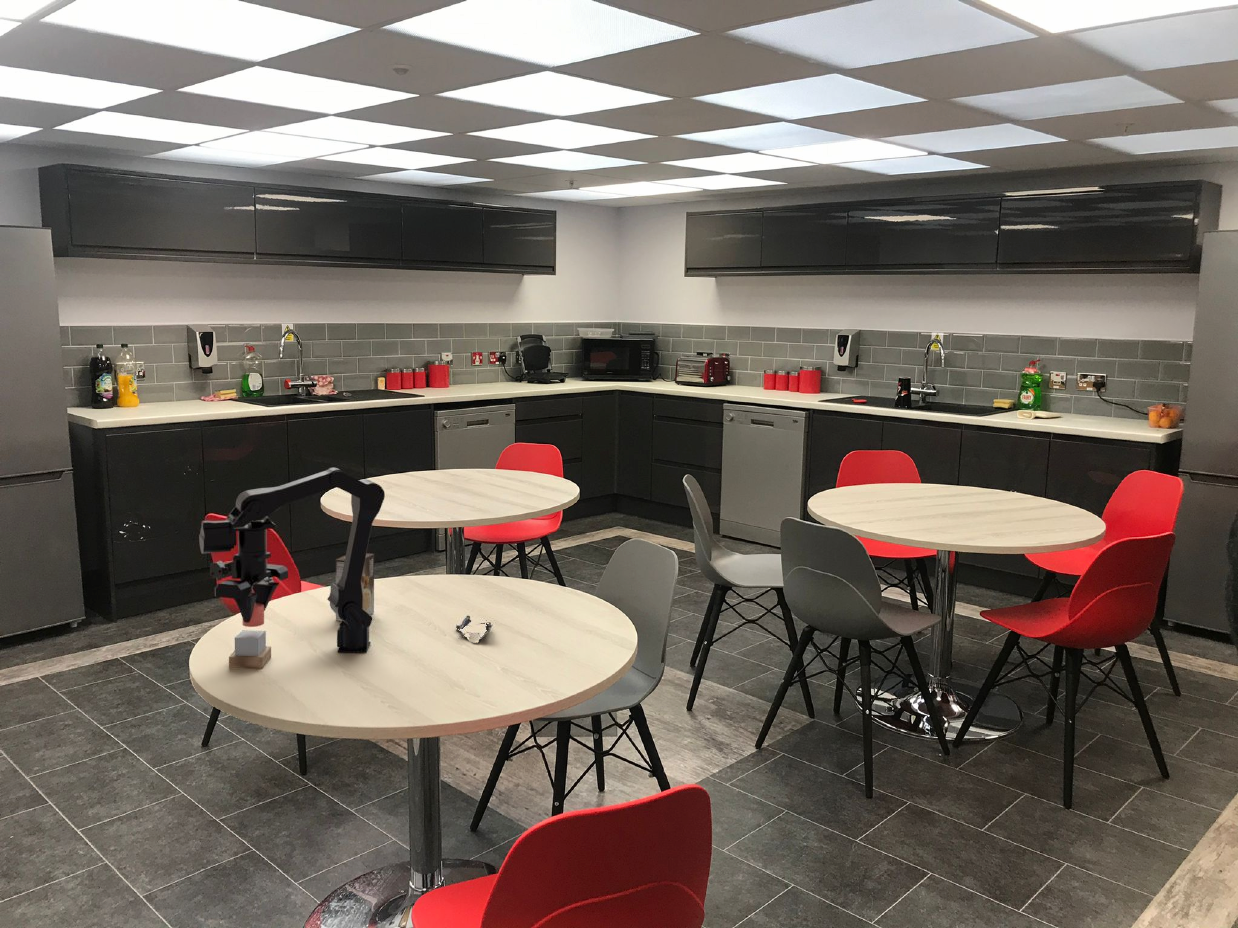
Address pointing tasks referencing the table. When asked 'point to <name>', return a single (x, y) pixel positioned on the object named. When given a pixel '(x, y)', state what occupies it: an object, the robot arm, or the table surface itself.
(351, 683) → the table surface
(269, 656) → the walnut slab
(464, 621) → the snack package
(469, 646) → the table surface
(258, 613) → the red cylinder
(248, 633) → the grey block
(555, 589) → the table surface
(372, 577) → the coffee box
